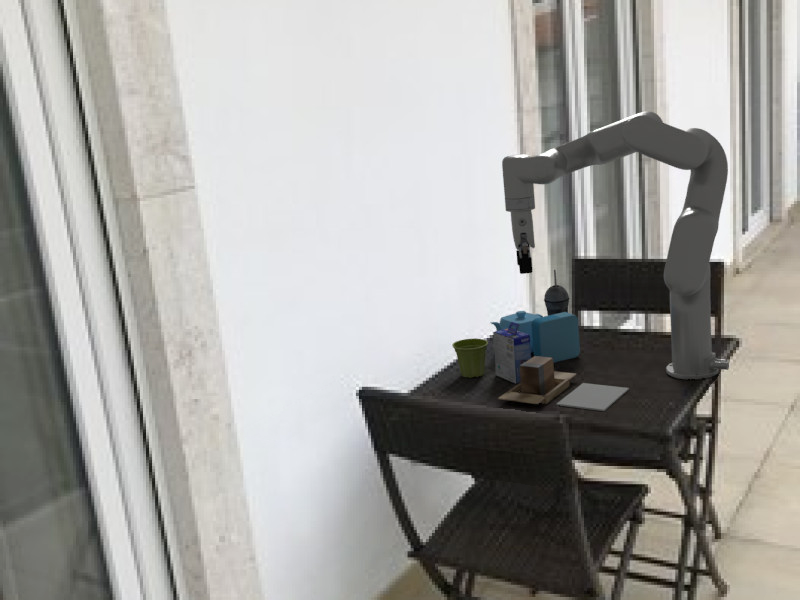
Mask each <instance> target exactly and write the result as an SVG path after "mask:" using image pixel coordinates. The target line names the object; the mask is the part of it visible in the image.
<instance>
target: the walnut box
mask: <svg viewBox="0 0 800 600" xmlns="http://www.w3.org/2000/svg"><path fill="white" fill-rule="evenodd" d="M554 371H555V367H554V363H553V358H550V357H540V356H534V355H533V357H531V359H530V360H528V361H527V362H524V363H523V364H521V365H520V377H521V390H522V391H521V393H525V394H534V395H542V396H544V395H545V394H547V393H548V392H549V391H551V390H552V389H553V388H555V387H556V385H555V379H554Z"/></svg>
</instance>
